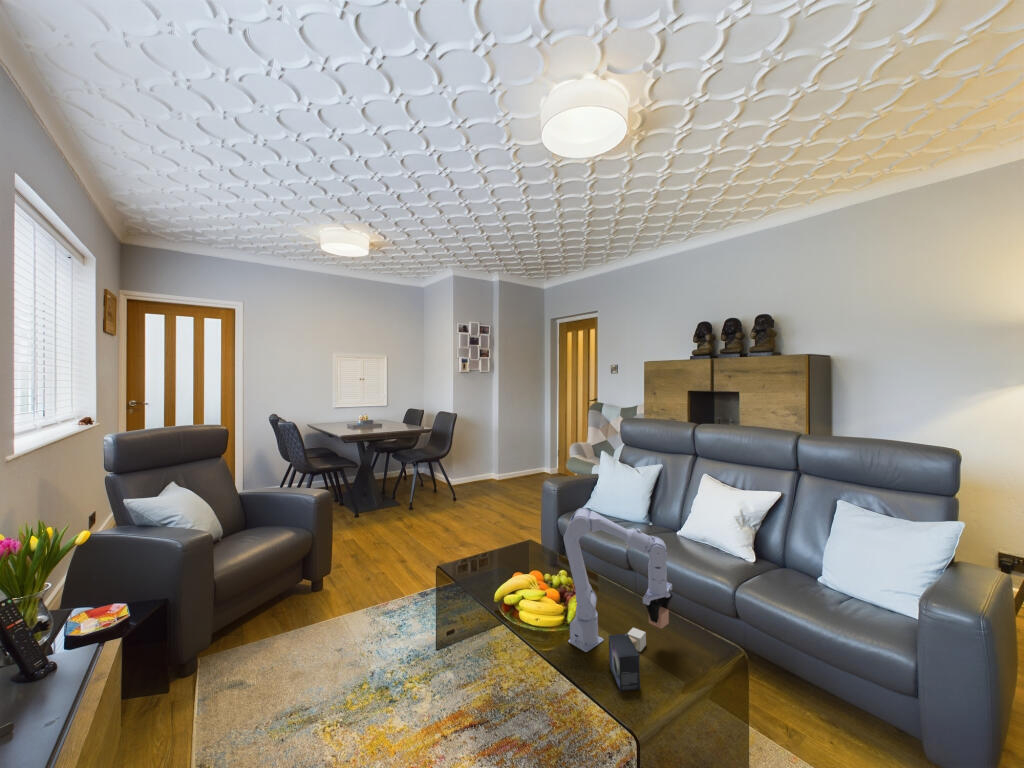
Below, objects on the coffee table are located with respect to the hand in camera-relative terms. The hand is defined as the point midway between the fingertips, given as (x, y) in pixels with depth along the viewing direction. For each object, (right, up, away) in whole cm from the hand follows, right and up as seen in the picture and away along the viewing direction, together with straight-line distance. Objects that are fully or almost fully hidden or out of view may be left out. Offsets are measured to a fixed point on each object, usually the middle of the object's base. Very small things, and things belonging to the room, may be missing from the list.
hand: (658, 618), depth 146 cm
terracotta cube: (0, -2, 0) cm, 2 cm away
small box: (-14, -12, -13) cm, 22 cm away
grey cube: (-6, -11, +3) cm, 13 cm away
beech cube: (-10, -11, -1) cm, 15 cm away
